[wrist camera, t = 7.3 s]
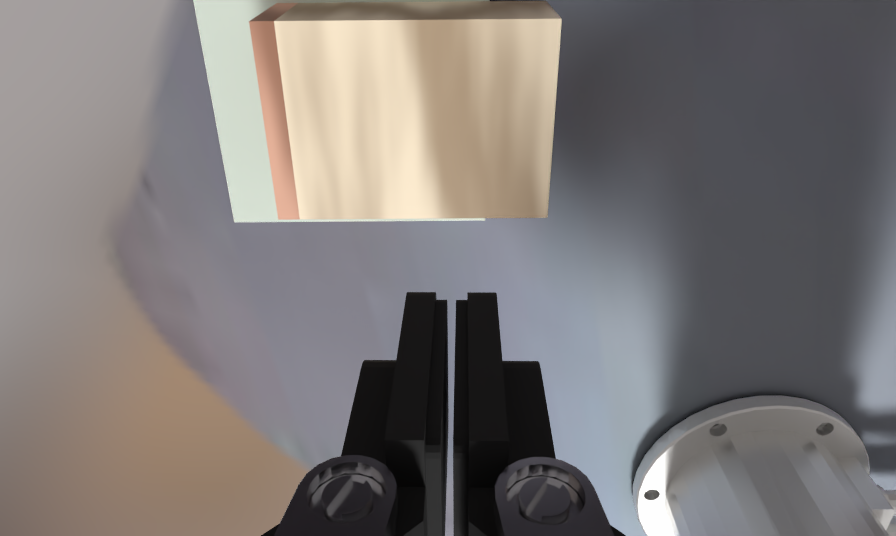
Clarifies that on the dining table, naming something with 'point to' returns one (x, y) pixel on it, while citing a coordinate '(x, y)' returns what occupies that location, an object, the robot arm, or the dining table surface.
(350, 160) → the maple block
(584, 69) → the dining table surface
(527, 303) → the dining table surface
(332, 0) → the pale green square plate
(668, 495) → the robot arm
